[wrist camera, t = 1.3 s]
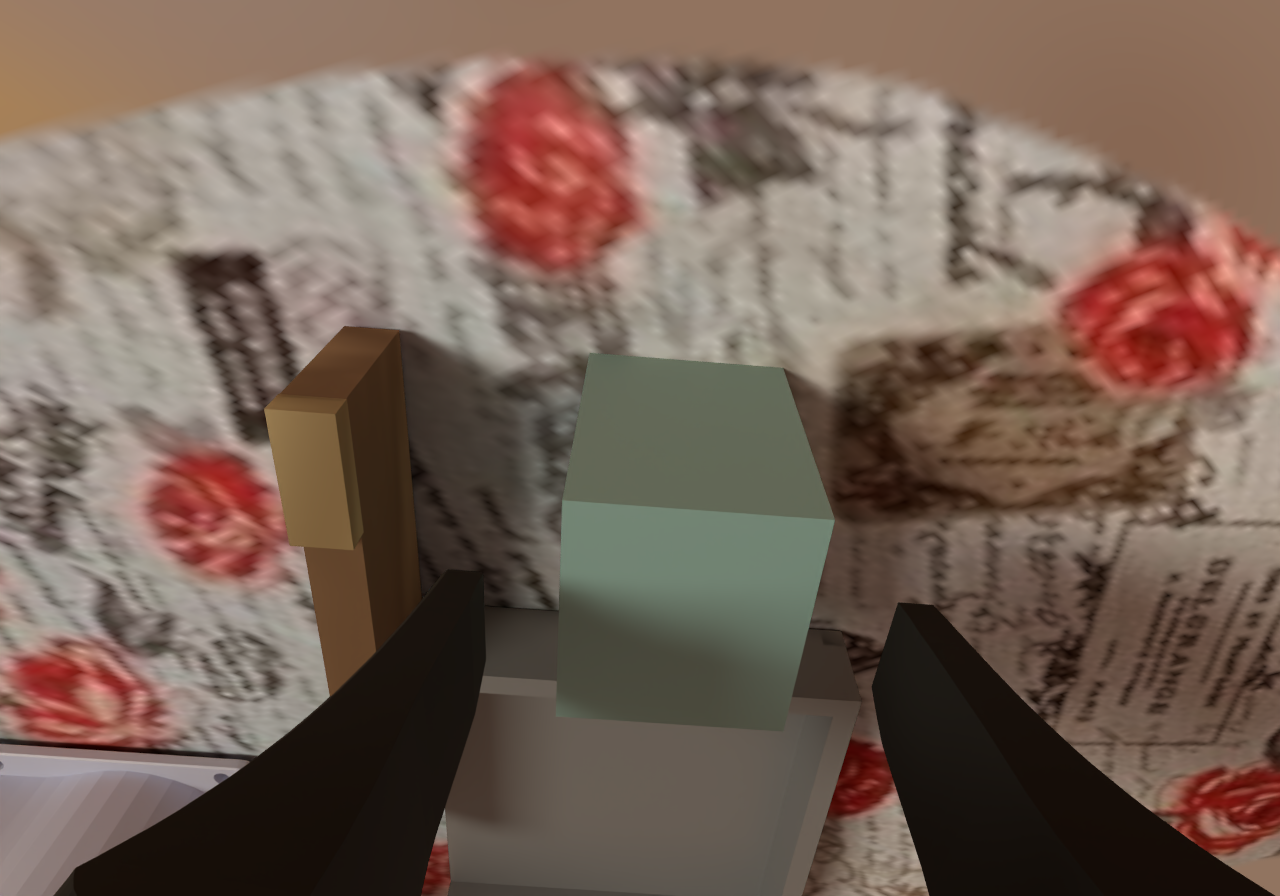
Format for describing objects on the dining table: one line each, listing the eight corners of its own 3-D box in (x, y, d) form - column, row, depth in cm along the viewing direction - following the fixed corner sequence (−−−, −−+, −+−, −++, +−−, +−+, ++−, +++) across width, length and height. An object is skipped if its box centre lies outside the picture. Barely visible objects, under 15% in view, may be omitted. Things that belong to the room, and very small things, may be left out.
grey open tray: (455, 874, 28) (438, 949, 26) (435, 602, 21) (410, 670, 19) (769, 894, 28) (779, 969, 26) (840, 631, 22) (861, 701, 19)
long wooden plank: (399, 785, 25) (357, 912, 22) (343, 326, 17) (264, 408, 14) (438, 787, 25) (403, 914, 22) (399, 330, 17) (334, 413, 14)
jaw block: (581, 531, 20) (555, 716, 15) (589, 352, 18) (561, 500, 12) (750, 543, 20) (783, 731, 15) (782, 367, 18) (834, 519, 13)
